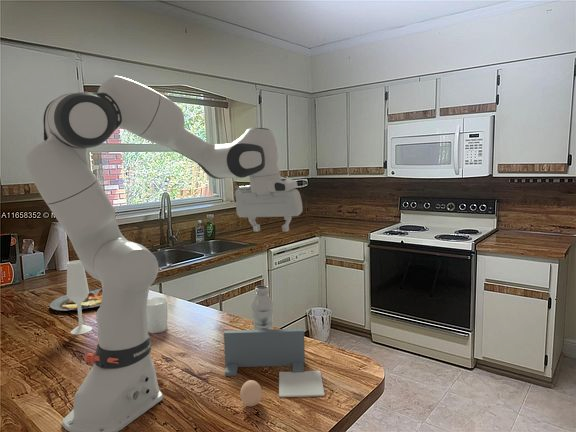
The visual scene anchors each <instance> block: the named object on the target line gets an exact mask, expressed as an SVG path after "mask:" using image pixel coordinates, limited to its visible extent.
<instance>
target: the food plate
mask: <svg viewBox="0 0 576 432" xmlns="http://www.w3.org/2000/svg"><path fill="white" fill-rule="evenodd" d="M101 299H102V288H96V289H89V294H88V296H87V298H86V299H85V300H84V301H83V302H81V309H82V310H83V309H85V310H87V309H88V308H97V307H100V305H101ZM49 307H50V308H51V310H52V309H53V310H56V311H78V308H77V303H74V302H73V301H71V300H70V299H69V298H68V297H67V294H65V295H63V296H62V295H61V296H59V297H57V298H56V299H54V300H52V301H51V303H50V304H49Z"/></svg>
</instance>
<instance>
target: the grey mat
mask: <svg viewBox="0 0 576 432" xmlns="http://www.w3.org/2000/svg"><path fill="white" fill-rule="evenodd" d="M278 373H279V375H278V398H294V397H295V398H300V397H301V398H302V397H305V398H306V397H325V396H326V395H325V389H324V385H323V378H322V373H321V370H308V371H307V370H304V372H295V373H293V371H279V372H278Z"/></svg>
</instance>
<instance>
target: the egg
mask: <svg viewBox="0 0 576 432" xmlns="http://www.w3.org/2000/svg"><path fill="white" fill-rule="evenodd" d="M262 389H263V388H262V387H261V385H260V384H259V382H257V380H253V379H252V380H251V379H249V380H247V381H246V382H244V383H243V384H242V386H241V388H240V391H239V396H240V401H241V402H242V403H243V405H245V406H247V407H255V406H256V405H258V404H259V403H260V402H261V400H262V397H263V391H262Z"/></svg>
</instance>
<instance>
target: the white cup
mask: <svg viewBox="0 0 576 432" xmlns="http://www.w3.org/2000/svg"><path fill="white" fill-rule="evenodd" d="M146 311H147V328H148V334H150V333H151V334H157V333H162V332H165V331H166V330H168V313H169V311H168V299H167V298H166V297H163V296H161V297H160V296H158V297H150V298H147V307H146Z"/></svg>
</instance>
